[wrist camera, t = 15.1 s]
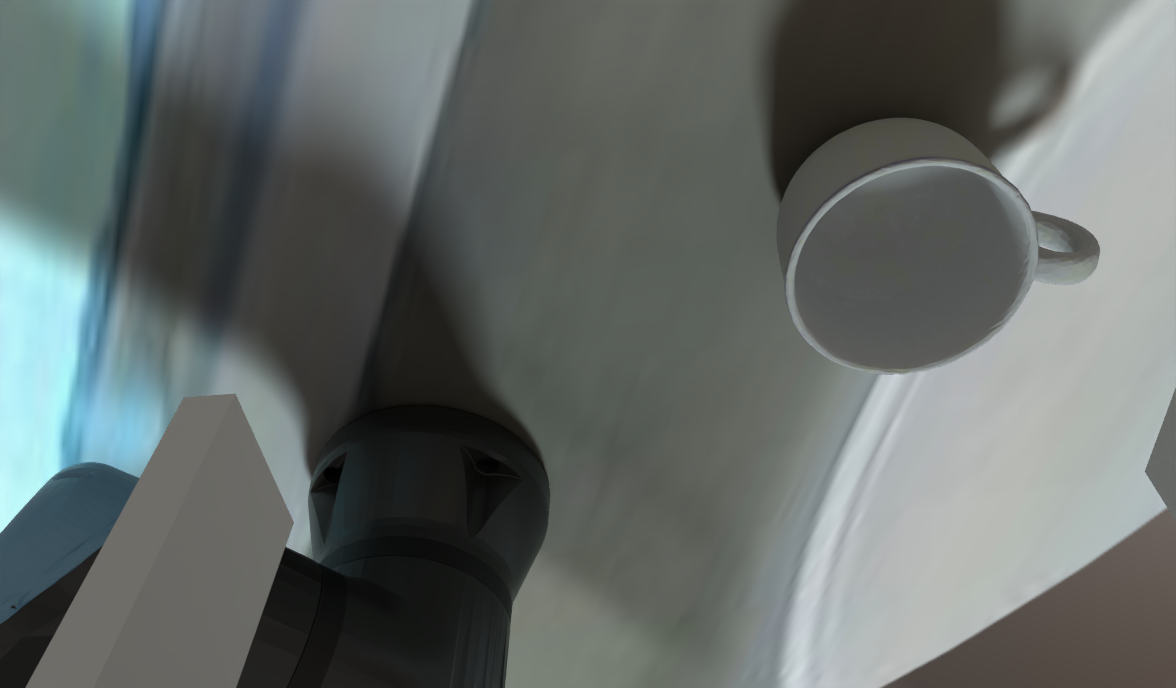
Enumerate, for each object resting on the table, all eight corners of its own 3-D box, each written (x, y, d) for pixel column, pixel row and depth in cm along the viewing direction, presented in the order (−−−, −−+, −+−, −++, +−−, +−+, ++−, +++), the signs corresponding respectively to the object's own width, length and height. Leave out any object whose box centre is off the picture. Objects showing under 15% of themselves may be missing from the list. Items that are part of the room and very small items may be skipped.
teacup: (739, 264, 49) (758, 359, 43) (800, 68, 43) (833, 147, 36) (988, 301, 50) (1042, 399, 44) (1086, 116, 44) (1166, 200, 37)
